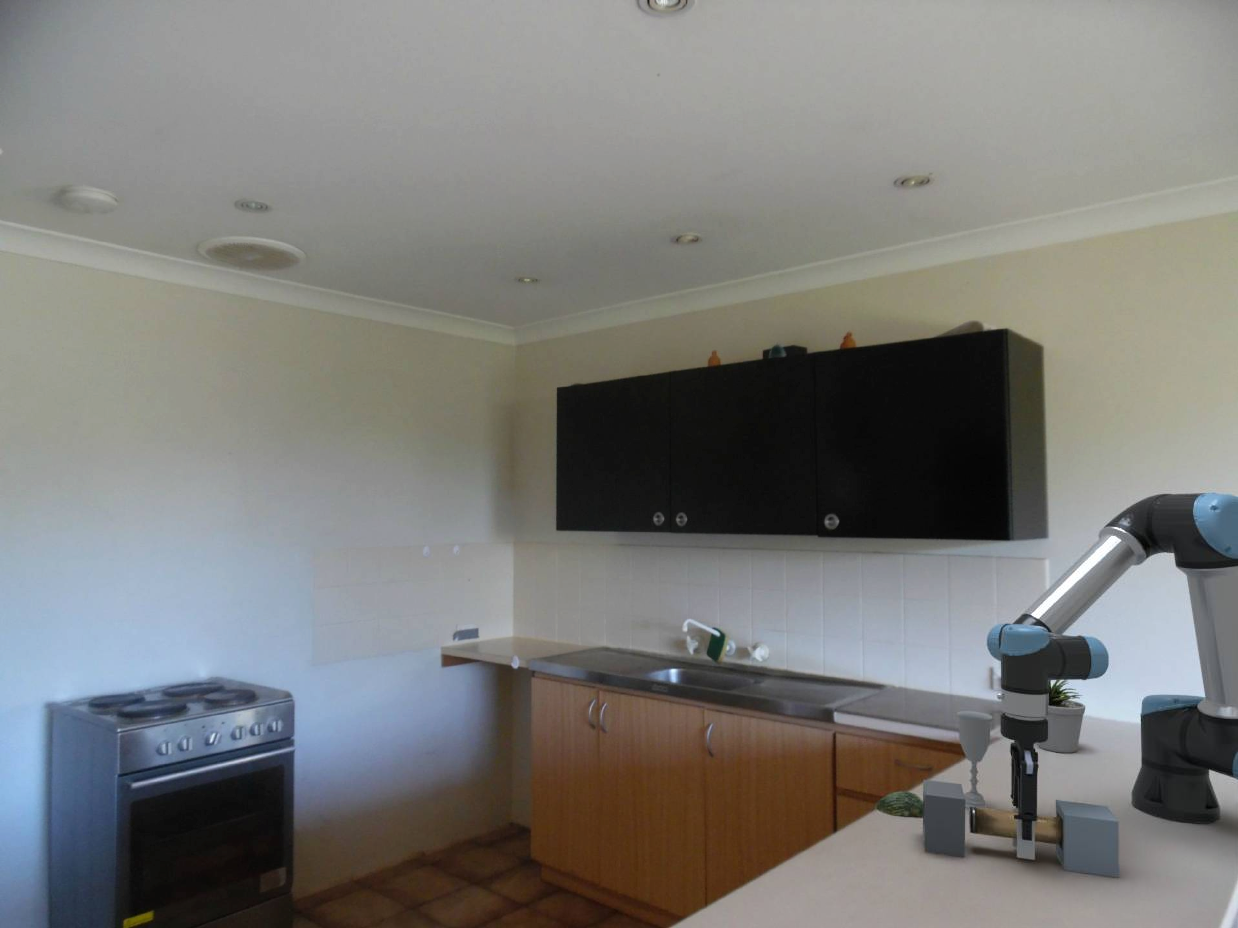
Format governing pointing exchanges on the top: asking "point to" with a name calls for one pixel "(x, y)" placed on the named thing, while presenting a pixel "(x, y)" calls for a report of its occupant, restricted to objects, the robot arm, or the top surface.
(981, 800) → the chalice
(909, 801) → the seashell
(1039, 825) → the slip tube
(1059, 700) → the potted plant
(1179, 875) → the top surface
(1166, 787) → the robot arm
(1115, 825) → the blue-grey cube-like block
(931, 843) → the socket
